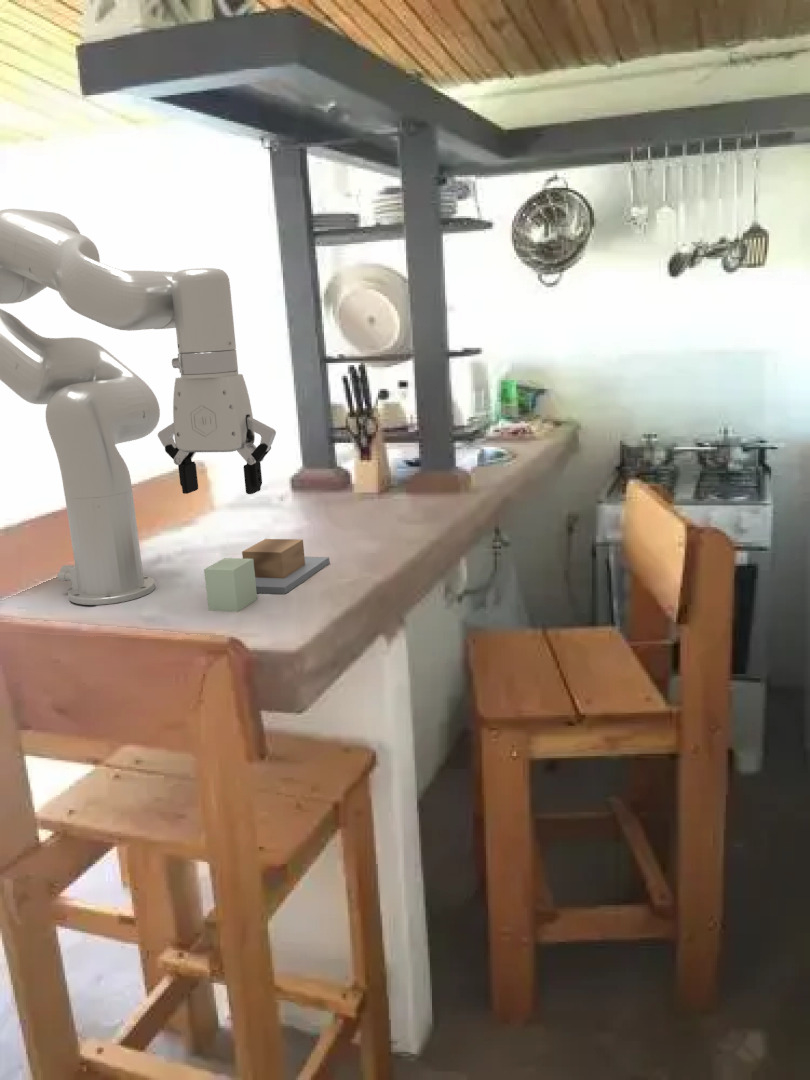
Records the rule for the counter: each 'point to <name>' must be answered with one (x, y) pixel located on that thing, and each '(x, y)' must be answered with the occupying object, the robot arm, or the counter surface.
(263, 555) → the walnut base block
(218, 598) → the sage block
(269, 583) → the slate baseplate
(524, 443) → the counter surface
